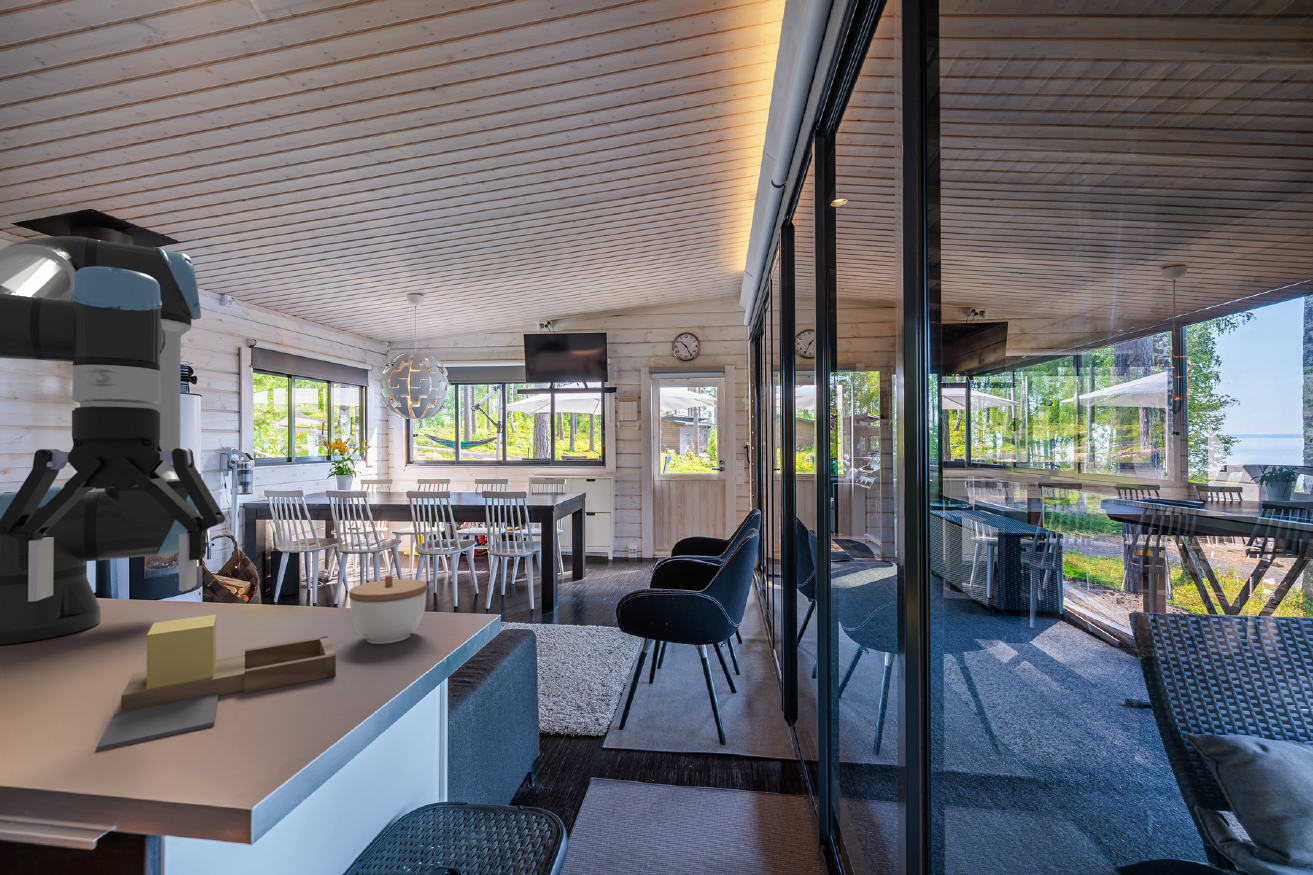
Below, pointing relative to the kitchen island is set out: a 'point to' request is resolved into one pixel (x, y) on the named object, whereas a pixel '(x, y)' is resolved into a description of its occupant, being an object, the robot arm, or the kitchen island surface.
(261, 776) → the kitchen island surface
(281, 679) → the brown tray
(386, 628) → the lidded jar
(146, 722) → the mat
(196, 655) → the block
